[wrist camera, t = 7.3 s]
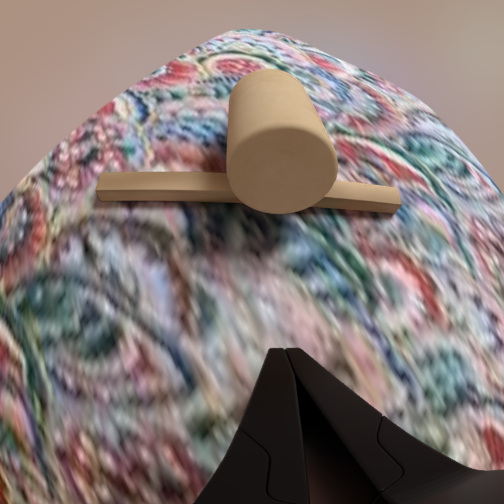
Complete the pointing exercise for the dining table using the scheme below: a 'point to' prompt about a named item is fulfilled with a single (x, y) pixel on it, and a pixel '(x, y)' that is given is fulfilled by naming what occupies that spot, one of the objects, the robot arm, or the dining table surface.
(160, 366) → the dining table surface
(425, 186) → the dining table surface
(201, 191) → the oak strip
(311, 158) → the candle
